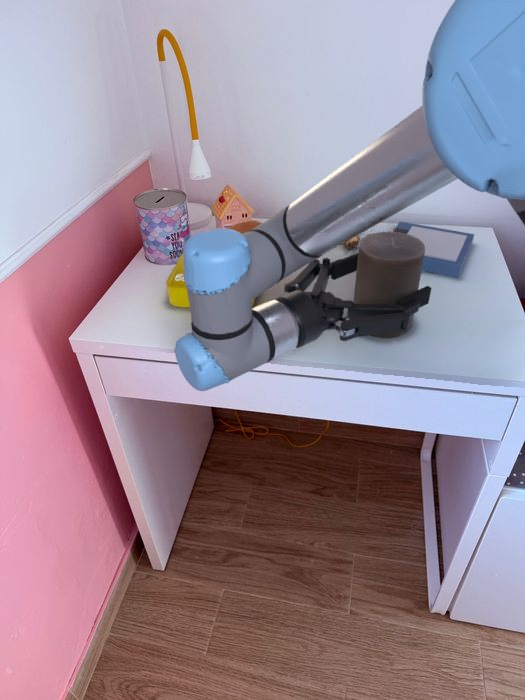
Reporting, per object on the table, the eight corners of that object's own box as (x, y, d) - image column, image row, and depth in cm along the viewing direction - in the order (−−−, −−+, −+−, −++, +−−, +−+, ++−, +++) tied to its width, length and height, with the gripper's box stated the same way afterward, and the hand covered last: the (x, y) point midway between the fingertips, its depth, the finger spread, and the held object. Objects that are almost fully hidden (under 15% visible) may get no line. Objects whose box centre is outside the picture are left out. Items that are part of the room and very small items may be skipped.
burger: (273, 236, 110) (273, 215, 107) (272, 258, 103) (272, 236, 100) (227, 237, 111) (225, 216, 108) (223, 258, 103) (221, 237, 100)
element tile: (264, 268, 100) (264, 245, 97) (251, 312, 88) (250, 288, 85) (188, 264, 102) (185, 242, 99) (166, 307, 90) (162, 283, 87)
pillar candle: (388, 346, 80) (401, 259, 70) (339, 321, 85) (345, 237, 76) (424, 321, 85) (441, 236, 75) (376, 298, 90) (386, 216, 81)
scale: (471, 245, 105) (474, 232, 103) (458, 277, 95) (461, 263, 93) (398, 232, 110) (399, 219, 108) (378, 261, 100) (379, 248, 99)
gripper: (236, 307, 82) (338, 266, 91) (344, 394, 66) (454, 333, 75) (233, 265, 77) (341, 226, 86) (348, 347, 61) (465, 288, 70)
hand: (393, 275), depth 81 cm, fingers open, 13 cm apart
